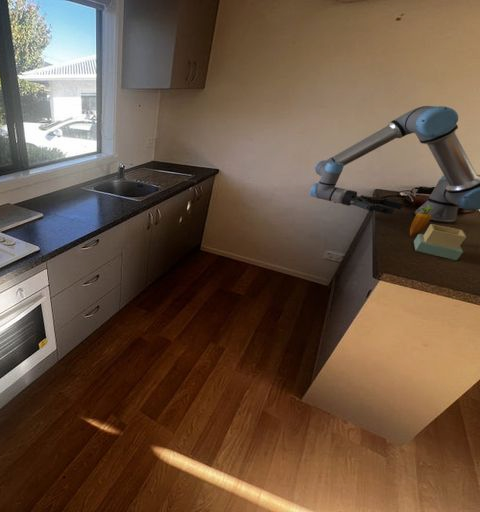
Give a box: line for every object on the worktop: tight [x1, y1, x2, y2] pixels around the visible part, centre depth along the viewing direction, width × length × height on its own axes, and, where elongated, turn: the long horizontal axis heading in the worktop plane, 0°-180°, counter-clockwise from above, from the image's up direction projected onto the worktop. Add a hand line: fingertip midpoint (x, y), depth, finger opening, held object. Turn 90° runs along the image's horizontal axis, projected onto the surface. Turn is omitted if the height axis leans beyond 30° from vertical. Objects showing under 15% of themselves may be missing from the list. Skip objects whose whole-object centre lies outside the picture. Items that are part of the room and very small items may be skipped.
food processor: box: [413, 223, 467, 261], centre depth 120 cm, size 13×12×10 cm
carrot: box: [409, 205, 433, 238], centre depth 131 cm, size 5×5×15 cm
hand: (397, 209), depth 136 cm, fingers open, 13 cm apart
